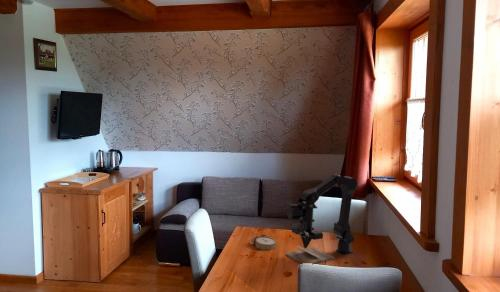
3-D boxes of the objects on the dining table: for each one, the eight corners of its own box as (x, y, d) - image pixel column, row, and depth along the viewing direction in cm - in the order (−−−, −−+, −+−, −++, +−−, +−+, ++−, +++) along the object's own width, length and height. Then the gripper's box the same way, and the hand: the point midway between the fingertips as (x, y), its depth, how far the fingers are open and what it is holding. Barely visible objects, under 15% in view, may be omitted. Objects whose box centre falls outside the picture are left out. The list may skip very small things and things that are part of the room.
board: (313, 249, 206) (313, 247, 206) (334, 259, 193) (334, 257, 193) (285, 254, 197) (285, 253, 197) (305, 266, 183) (306, 263, 183)
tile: (297, 244, 197) (296, 246, 196) (310, 250, 188) (309, 252, 188) (306, 248, 200) (305, 250, 200) (319, 255, 191) (318, 257, 191)
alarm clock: (265, 246, 201) (247, 234, 212) (264, 255, 202) (246, 242, 213) (281, 242, 208) (262, 230, 219) (279, 250, 209) (261, 238, 220)
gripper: (282, 214, 195) (281, 244, 197) (306, 223, 179) (304, 256, 181) (300, 212, 201) (298, 241, 202) (324, 221, 185) (322, 253, 186)
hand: (305, 247), depth 193 cm, fingers closed, pressing on tile
